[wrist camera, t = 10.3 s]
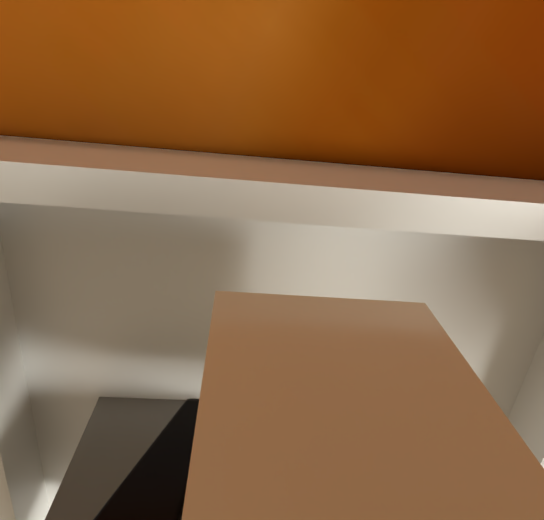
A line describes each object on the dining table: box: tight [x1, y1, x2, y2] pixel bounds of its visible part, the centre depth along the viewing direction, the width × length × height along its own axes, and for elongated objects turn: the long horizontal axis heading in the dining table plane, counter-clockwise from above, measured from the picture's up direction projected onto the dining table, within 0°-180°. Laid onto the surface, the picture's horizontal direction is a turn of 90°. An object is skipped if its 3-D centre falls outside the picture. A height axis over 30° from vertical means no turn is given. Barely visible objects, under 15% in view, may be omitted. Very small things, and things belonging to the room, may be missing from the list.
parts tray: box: [0, 135, 544, 520], centre depth 13 cm, size 18×16×2 cm
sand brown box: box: [182, 291, 544, 520], centre depth 7 cm, size 4×4×5 cm
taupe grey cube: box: [45, 397, 185, 520], centre depth 11 cm, size 4×4×5 cm
